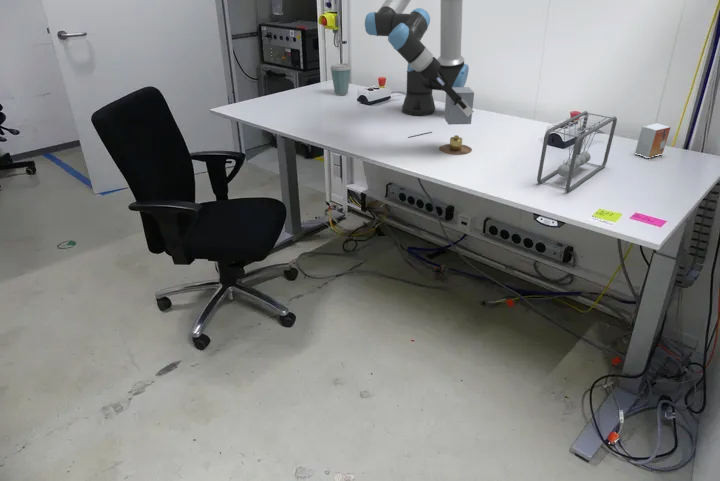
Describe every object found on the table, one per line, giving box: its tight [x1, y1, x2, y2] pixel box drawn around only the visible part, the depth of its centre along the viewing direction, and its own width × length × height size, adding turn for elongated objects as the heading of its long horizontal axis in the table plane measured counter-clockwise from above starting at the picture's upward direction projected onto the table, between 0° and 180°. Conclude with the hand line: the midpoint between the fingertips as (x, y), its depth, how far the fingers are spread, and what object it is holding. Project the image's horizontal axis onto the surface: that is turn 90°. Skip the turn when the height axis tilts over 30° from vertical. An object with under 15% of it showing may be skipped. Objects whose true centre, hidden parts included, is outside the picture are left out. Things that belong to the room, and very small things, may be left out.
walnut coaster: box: [438, 143, 473, 156], centre depth 188 cm, size 12×12×1 cm
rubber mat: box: [407, 131, 433, 139], centre depth 199 cm, size 12×12×1 cm
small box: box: [634, 122, 672, 157], centre depth 179 cm, size 8×6×10 cm
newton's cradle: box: [536, 110, 618, 193], centre depth 162 cm, size 30×10×18 cm, turn 136°
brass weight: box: [449, 135, 463, 151], centre depth 186 cm, size 4×4×5 cm
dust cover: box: [444, 86, 475, 126], centre depth 179 cm, size 8×8×11 cm
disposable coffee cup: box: [330, 62, 352, 96], centre depth 259 cm, size 11×11×15 cm
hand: (467, 110), depth 180 cm, fingers closed on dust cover, 8 cm apart
